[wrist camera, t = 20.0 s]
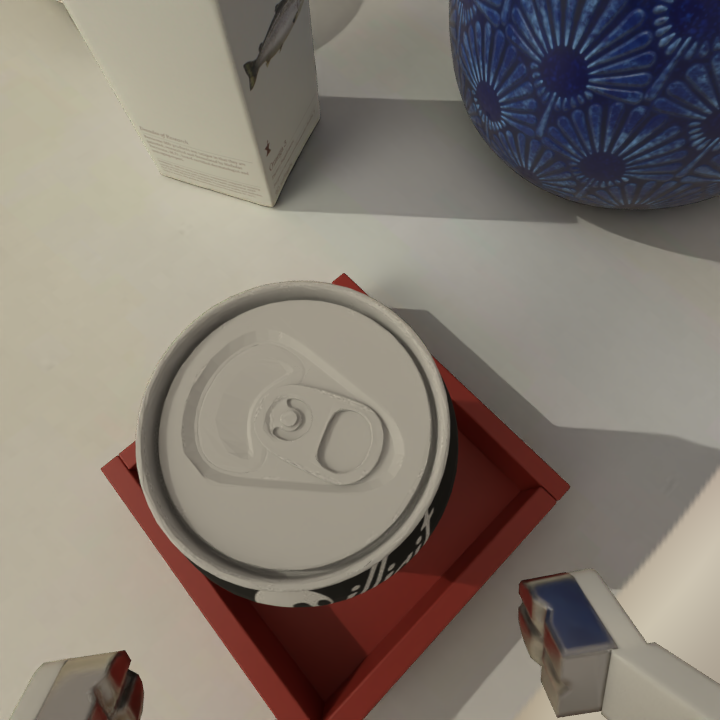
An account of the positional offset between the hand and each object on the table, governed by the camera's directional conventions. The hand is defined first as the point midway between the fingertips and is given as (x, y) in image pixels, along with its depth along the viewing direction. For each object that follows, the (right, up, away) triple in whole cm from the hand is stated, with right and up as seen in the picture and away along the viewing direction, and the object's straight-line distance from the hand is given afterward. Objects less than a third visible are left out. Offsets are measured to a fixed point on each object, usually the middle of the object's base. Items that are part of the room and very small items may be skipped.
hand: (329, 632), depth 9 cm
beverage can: (0, 0, +10) cm, 10 cm away
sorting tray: (0, 0, +11) cm, 11 cm away
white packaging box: (-6, +18, +18) cm, 26 cm away
